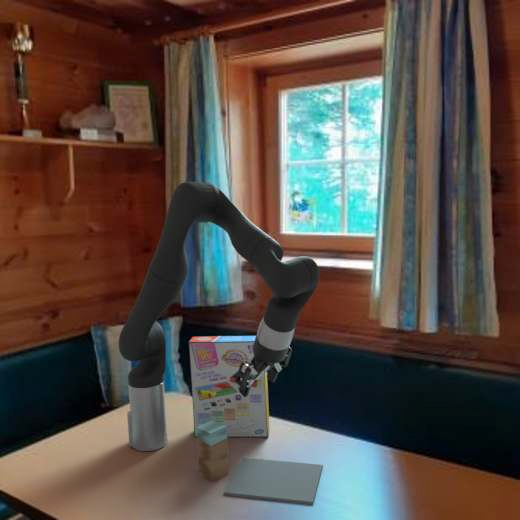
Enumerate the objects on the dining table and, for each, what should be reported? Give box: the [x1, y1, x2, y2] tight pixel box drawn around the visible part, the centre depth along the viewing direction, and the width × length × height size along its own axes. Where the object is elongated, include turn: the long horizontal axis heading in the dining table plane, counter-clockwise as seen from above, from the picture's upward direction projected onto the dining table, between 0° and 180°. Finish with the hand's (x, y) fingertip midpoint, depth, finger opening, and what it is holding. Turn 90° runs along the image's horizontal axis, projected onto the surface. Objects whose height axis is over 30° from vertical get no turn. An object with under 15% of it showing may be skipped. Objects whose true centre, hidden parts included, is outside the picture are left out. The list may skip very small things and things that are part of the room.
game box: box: [188, 335, 270, 438], centre depth 152 cm, size 21×6×27 cm, turn 84°
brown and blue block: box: [196, 420, 230, 483], centre depth 132 cm, size 5×5×12 cm
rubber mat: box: [223, 457, 324, 505], centre depth 129 cm, size 20×16×1 cm
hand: (257, 387), depth 128 cm, fingers open, 8 cm apart
